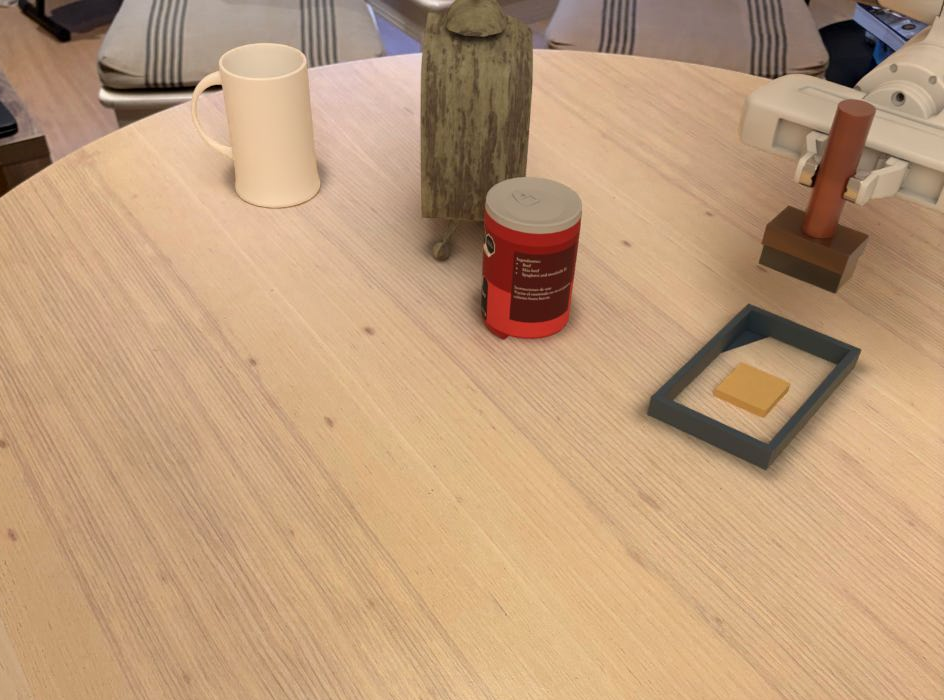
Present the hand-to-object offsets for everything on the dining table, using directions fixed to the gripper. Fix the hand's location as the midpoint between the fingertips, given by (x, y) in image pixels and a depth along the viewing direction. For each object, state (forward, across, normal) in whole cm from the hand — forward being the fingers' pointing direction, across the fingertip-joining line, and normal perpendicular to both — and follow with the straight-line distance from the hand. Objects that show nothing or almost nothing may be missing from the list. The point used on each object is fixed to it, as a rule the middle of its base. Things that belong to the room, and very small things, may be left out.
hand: (829, 184), depth 74 cm
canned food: (+8, -20, +16) cm, 27 cm away
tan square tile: (+5, +1, +15) cm, 16 cm away
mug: (+5, -54, +16) cm, 57 cm away
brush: (-1, 0, +7) cm, 7 cm away
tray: (+5, +1, +16) cm, 17 cm away
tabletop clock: (-1, -33, +16) cm, 37 cm away
